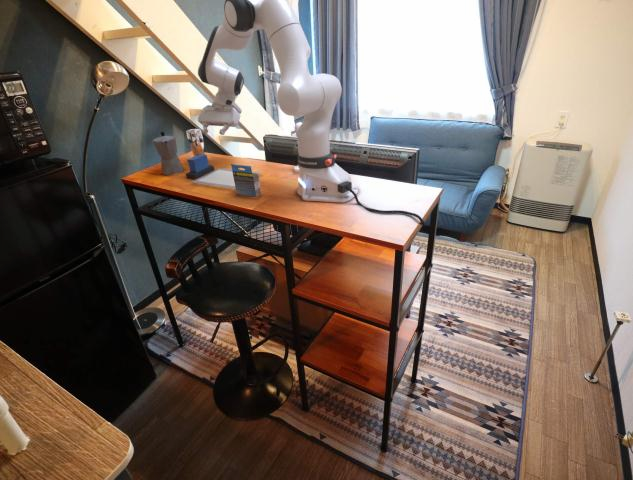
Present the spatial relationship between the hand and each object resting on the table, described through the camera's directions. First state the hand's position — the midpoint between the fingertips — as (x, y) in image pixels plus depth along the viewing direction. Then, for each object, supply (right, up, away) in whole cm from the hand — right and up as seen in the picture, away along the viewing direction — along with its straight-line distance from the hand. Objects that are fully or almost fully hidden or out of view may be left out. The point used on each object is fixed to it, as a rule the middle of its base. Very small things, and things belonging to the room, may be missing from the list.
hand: (212, 133), depth 151 cm
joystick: (+41, -17, -3) cm, 45 cm away
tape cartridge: (+20, -30, -23) cm, 43 cm away
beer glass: (-11, -9, +17) cm, 22 cm away
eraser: (-5, -19, -2) cm, 19 cm away
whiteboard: (+8, -22, -7) cm, 24 cm away
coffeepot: (-20, -16, +6) cm, 26 cm away
